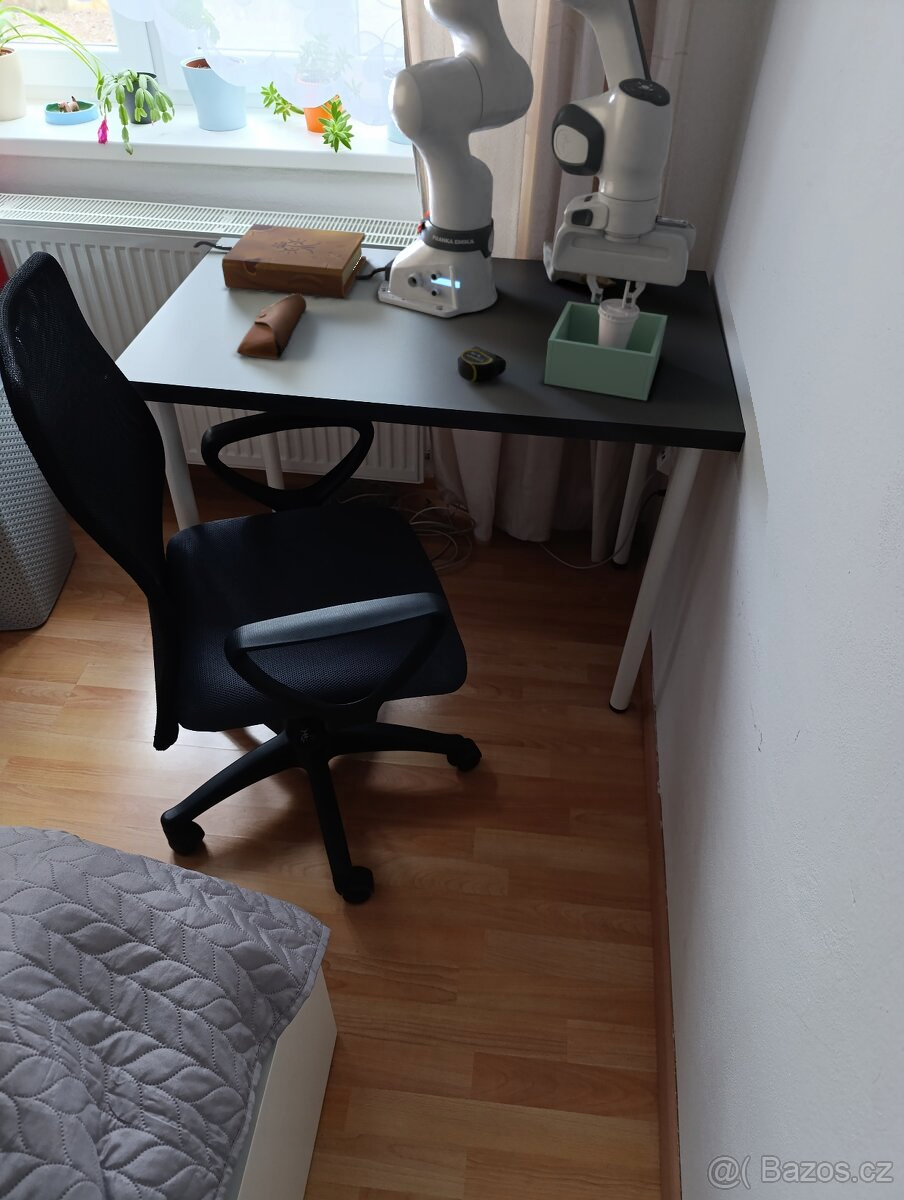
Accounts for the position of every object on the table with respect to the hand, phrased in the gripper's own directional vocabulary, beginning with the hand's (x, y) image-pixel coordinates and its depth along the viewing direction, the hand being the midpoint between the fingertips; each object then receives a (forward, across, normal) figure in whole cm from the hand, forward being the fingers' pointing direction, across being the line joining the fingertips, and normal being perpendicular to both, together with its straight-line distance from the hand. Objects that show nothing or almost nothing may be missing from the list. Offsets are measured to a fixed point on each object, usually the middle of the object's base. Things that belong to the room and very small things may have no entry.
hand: (612, 303), depth 130 cm
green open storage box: (+12, 0, 0) cm, 12 cm away
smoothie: (+10, -1, 0) cm, 10 cm away
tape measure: (+12, +19, +8) cm, 24 cm away
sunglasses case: (+12, +58, +6) cm, 59 cm away
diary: (+12, +64, -18) cm, 67 cm away
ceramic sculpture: (+12, +11, -33) cm, 37 cm away
